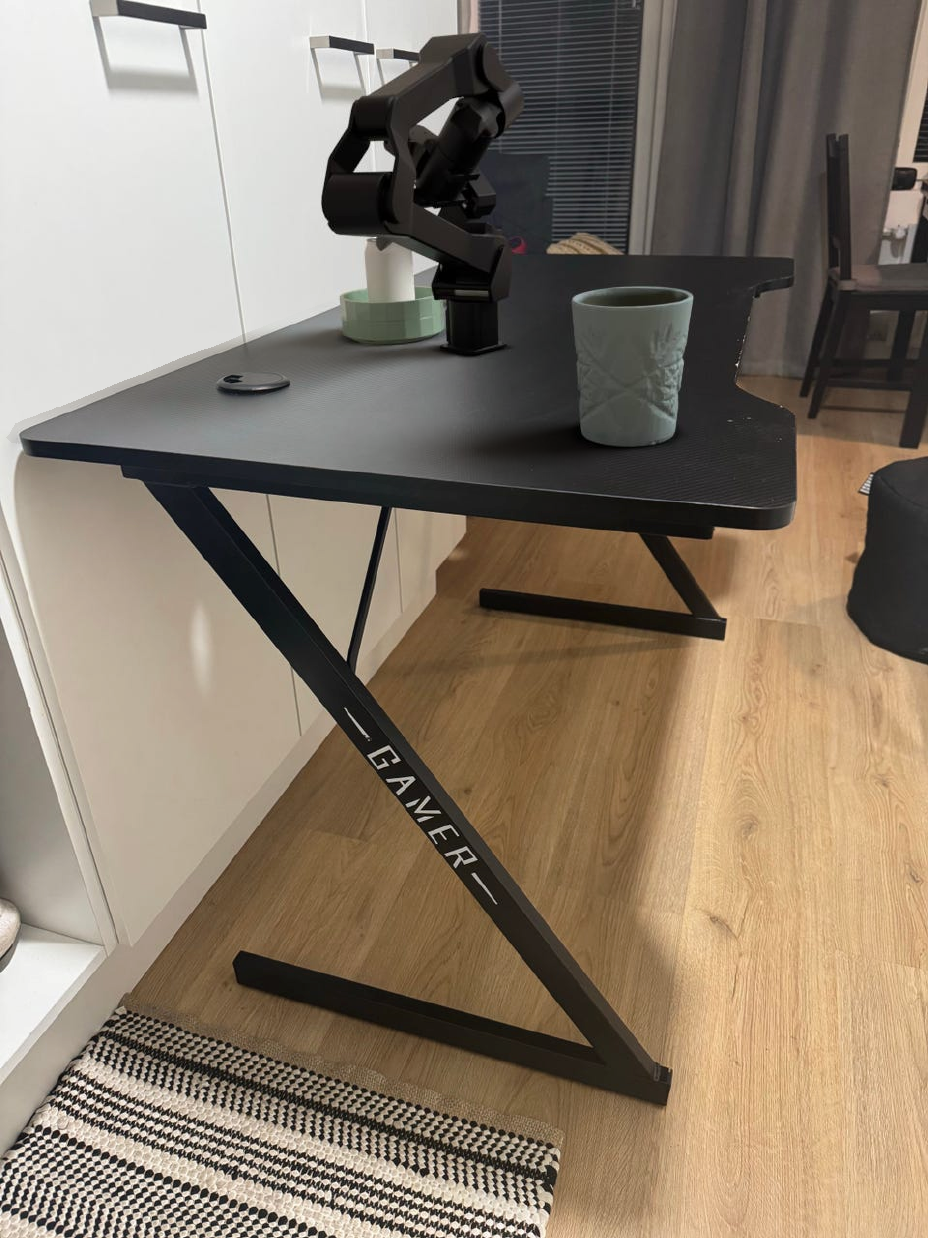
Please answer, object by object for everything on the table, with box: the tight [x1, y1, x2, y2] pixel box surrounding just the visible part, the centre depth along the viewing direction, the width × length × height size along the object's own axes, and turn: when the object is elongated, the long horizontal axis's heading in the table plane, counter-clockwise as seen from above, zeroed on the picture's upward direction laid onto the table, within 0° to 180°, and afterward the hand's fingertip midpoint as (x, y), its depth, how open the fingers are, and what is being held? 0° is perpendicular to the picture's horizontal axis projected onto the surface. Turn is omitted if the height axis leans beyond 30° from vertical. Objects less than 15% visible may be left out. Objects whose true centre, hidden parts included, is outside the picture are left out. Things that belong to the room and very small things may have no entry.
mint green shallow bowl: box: [338, 285, 445, 345], centre depth 124 cm, size 14×14×6 cm
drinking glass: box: [571, 285, 694, 448], centre depth 78 cm, size 10×10×12 cm
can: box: [364, 237, 415, 302], centre depth 122 cm, size 6×6×12 cm
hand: (405, 243), depth 118 cm, fingers open, 9 cm apart
